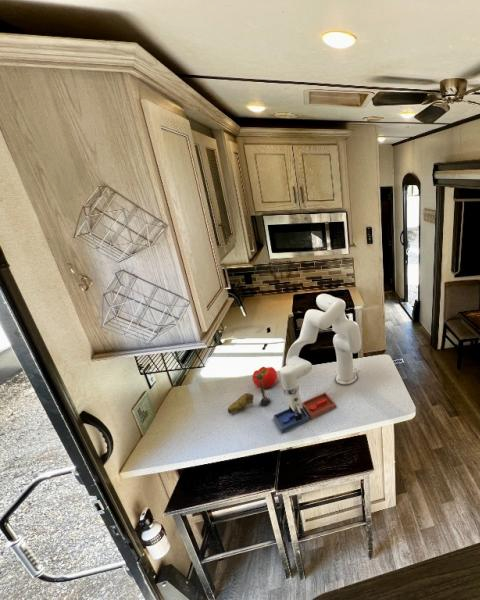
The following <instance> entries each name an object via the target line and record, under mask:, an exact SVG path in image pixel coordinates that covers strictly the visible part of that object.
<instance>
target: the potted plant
mask: <svg viewBox="0 0 480 600" xmlns="http://www.w3.org/2000/svg"><path fill="white" fill-rule="evenodd" d="M263 377H264V376H263V374H262V373H258V374H257V375H256V376H253V375H252V379H253V378H257V379H258V380H260V381H259V382H260V387H261V388H260V390H261V400H260V406H262V407H265V406H268V405H269V404H270V403H271V399H270V398H269V397H268V396H267V393H266V391H265V388H264V387H263V382H262V380H261V379H263Z"/></svg>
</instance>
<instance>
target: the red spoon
mask: <svg viewBox="0 0 480 600" xmlns="http://www.w3.org/2000/svg"><path fill="white" fill-rule="evenodd" d="M325 404H327V400H326V398H325V399H323V400H321V401H319V402H317V403H316V405H311V406H310V410H311V411H315V410H316V409H317V408H319V407H321V406H323V405H325Z"/></svg>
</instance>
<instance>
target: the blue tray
mask: <svg viewBox="0 0 480 600" xmlns="http://www.w3.org/2000/svg"><path fill="white" fill-rule="evenodd" d="M296 409H297V408H296ZM300 410H301V414H302V419H300V420H298V421H296V419H293V420H291V421H289V423H287V424H283V423H282V419H283V418H285V417H288V415H290V414H292V413H294V411H293V412H290V409H289V408H287V409H285V410H282V411H280V412H278V413H276V414H273V419H274V422H275V423H276V425H277V426H278V429H279V430H280V432H281V433H282V434H284V433H286V432H288V431H290V430H292V429H294V428H296V427H298V426H300V425H303V424H304V423H307V422H308V421H310V417H309V415H308V414H307V413H306V411H305V410H304V408H303V407H302V408H300ZM296 412H297V411H296ZM288 418H289V417H288Z"/></svg>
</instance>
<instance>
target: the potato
mask: <svg viewBox="0 0 480 600" xmlns="http://www.w3.org/2000/svg"><path fill="white" fill-rule="evenodd" d="M253 403H254V395H253V394H252V393H249V392H248V393H244V394H242V395H241V396H239V397H238V398H237V399H236V400H235V401H234V402H233V403H232V404H230V405H229V407H227V411H228V413H229V414H235V413H237V412H238V411H241V410H243V409H245V408H246V407H248V406H249V405H251V404H253Z"/></svg>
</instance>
